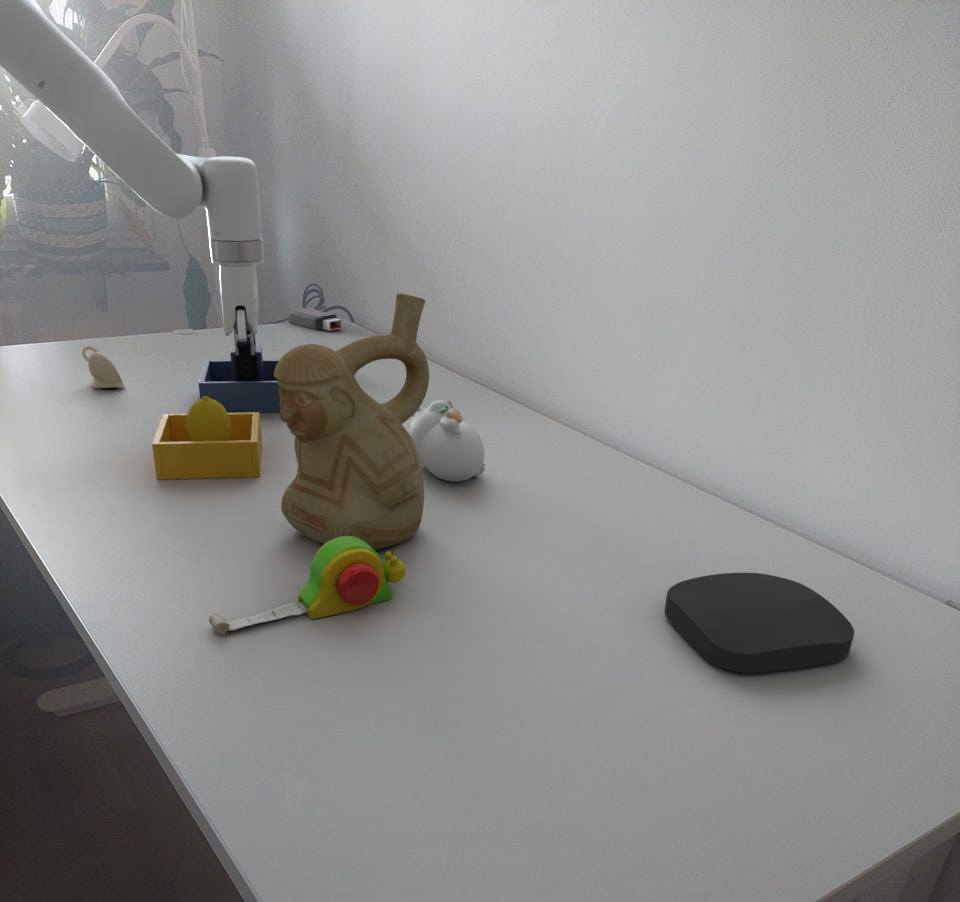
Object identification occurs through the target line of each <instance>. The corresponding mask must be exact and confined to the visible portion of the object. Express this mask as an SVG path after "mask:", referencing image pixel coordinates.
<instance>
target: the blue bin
mask: <svg viewBox="0 0 960 902" xmlns="http://www.w3.org/2000/svg"><path fill="white" fill-rule="evenodd" d="M279 360H280V359H263V371H264V378H263V381H233V375H232V365H231V359H205V360H204V362H203V366H202V370H201V373H200V376H199V380H198V383H197V384H198V392H199V400H200V399H202V398H203V397H204V396H208V397H209V398H210V399H213V400H216V401H217V402H219V403H220V404H221V405H222V406H223V407H224V408H225V410H226V411H227V413H245V412H253V413H254V412H259V414H263V413H264V414H267V413H268V414H269V413H275V414H276V413H280V410H281V408H280V397H279V385H278V380H277V379H276V378H275V377H274V371H275V368H276V365H277V363H278V361H279Z"/></svg>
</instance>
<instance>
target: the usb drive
mask: <svg viewBox="0 0 960 902" xmlns="http://www.w3.org/2000/svg"><path fill="white" fill-rule="evenodd" d="M288 323H289V324H293V325H296V324H297V326H300V325H301V326H300V327H304V328H307V329H311V330H315V331H328V332H329V331H330V332H331V331H336V330H341V329H343V320H342V319H341V318H337V315H336V314H335V313H334V314H333V313H331V312H330V313H329V312H326V311H322V310H319V309H315V308H311V307H306V308H305V307H304V308H299V309H293V310H291V311H289V313H288Z"/></svg>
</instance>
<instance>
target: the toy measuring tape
mask: <svg viewBox="0 0 960 902" xmlns="http://www.w3.org/2000/svg"><path fill="white" fill-rule="evenodd" d="M384 558H385V561H384V562H383V560H382V557H381V556H380V554H379V553H378V552H377V551H376V550H373V549H372V548H371V547H370V546H369V545H368V544H367V543H366V542H364V541H363V540H361V539H359V538H357V537H353V536H342V537H337V538H335V539H332V540H330V541H328V542H327V543H325V544H322V545H321V547H319V549H318V550H317V551H316V553H315V554H314V557H313V559H312V561H311V565H310V571H309V577H308V580H307V582H306V583H305V585H304V587H303V588H302V589H301V590H300V591H299V592H298V594H297V602H290V603H285V604H284V605H281V606H278V607H276V608H273V609H271V610H269V611H266V612H262V613H259V614H256V615H253V616H248V617H242V618H237V619H235V620H232V621H228V620H227V618H226V617H225V615H223V614H222V613H218V612H215V613H212V614H211V615H210V616H209V617H208V622H209V623H210V625H211V627H212V628H213V630H214V632H215V633H216V634H218V635H220V636H225V635H226V633H227V632H228V631H231V632H232V631H237V630H239V629H243V628H247V627H251V626H254V625H257V624H263V623H268V622H273V621H277V620H278V621H279V620H281V619H284V618H287V617H293V616H301V615H303V614H305V613H306V615H307V617H308V618H309V619H311V620H315V619H321V618H325V617H329V616H334V615H338V614H343V613H347V612H352V611H355V610H358V609H361V608H364V607H365V606H367V605H372V604H376V603H381V602H385V601H389V600H392V598H393V590H392V589H391V587H390V586H389V584H397V583H399V582H400V581H402V580H403V579H404V578H405V576H406V573H407V572H406V571H407V568H406V564H405V563H404V562H403V561H402V560H401V559H400V558H398V557H397V556H396V555H394V553H393V551H390V550H387V551H386V552H385V553H384Z"/></svg>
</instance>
